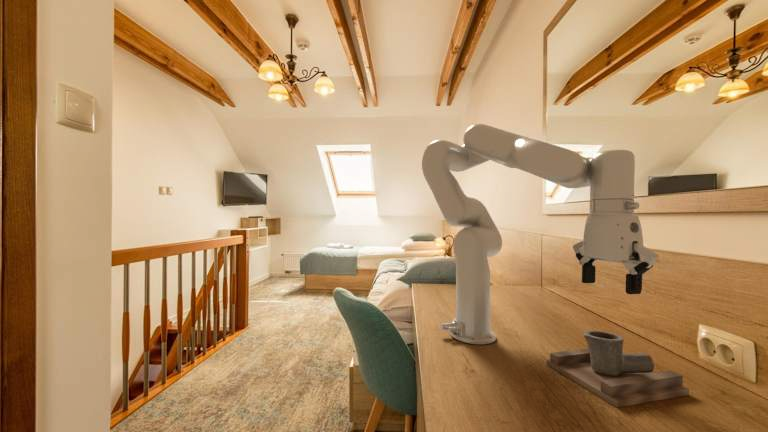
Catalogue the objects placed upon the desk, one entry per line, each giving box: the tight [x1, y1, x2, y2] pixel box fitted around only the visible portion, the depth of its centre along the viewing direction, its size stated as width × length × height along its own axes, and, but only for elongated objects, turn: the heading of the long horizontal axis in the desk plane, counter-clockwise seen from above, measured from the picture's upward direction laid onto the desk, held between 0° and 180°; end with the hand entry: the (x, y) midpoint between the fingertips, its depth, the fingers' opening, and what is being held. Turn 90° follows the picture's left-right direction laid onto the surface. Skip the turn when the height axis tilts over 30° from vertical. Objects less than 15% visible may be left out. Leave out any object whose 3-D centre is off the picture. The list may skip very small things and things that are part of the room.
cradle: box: [546, 348, 690, 408], centre depth 62 cm, size 18×16×3 cm
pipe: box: [583, 330, 655, 376], centre depth 62 cm, size 6×13×8 cm, turn 86°
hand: (609, 287), depth 63 cm, fingers open, 9 cm apart
